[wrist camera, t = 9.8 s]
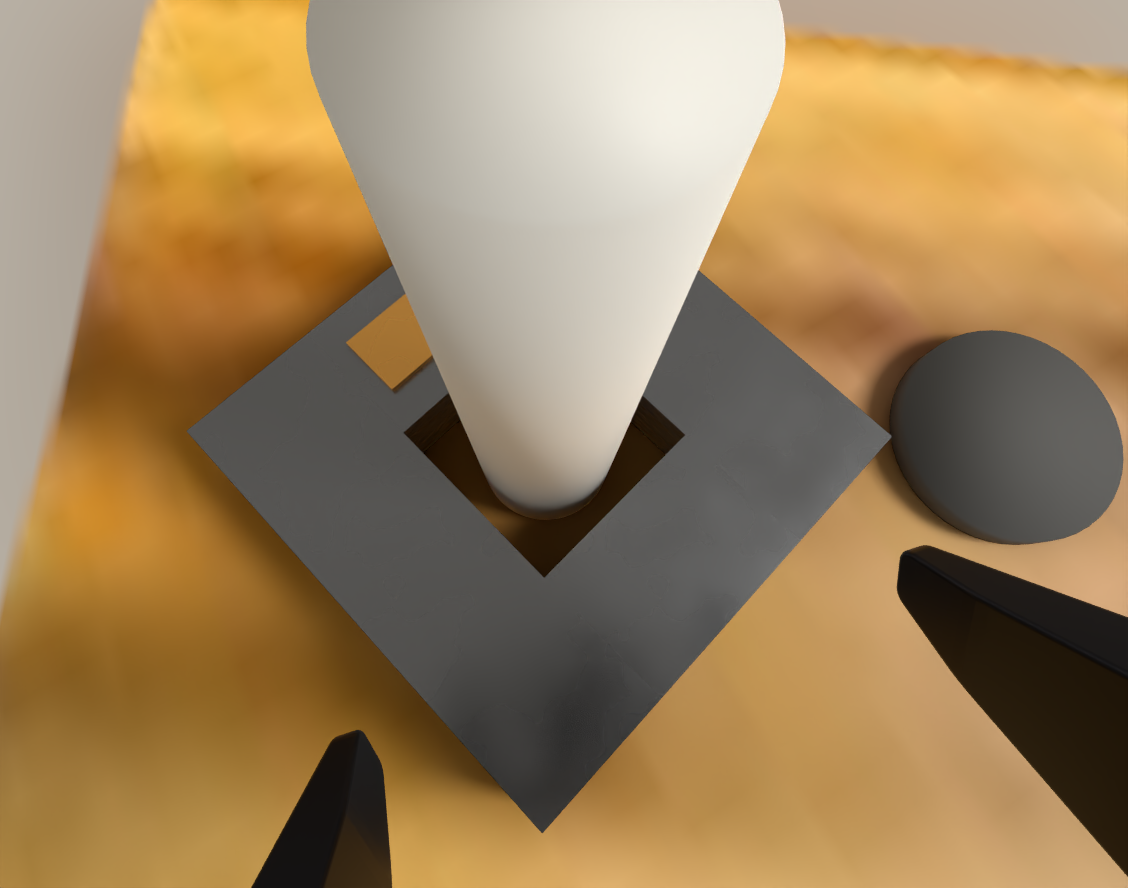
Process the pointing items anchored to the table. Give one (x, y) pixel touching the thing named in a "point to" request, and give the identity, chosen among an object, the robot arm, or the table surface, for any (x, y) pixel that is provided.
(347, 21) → the peg
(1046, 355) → the pad
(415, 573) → the rack plate
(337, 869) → the robot arm
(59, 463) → the table surface
